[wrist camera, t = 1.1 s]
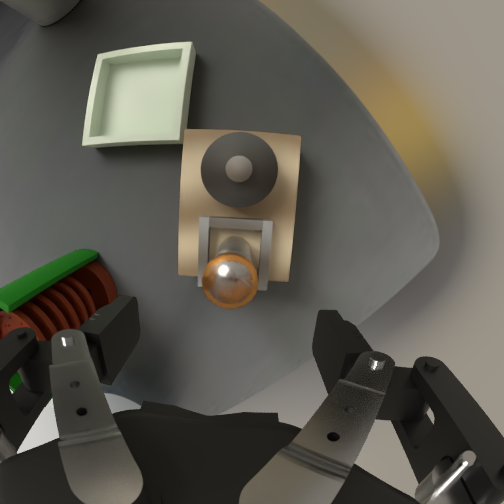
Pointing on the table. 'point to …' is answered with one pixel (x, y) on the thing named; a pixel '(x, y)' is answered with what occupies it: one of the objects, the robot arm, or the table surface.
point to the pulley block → (238, 198)
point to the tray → (140, 96)
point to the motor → (55, 297)
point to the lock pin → (231, 274)
